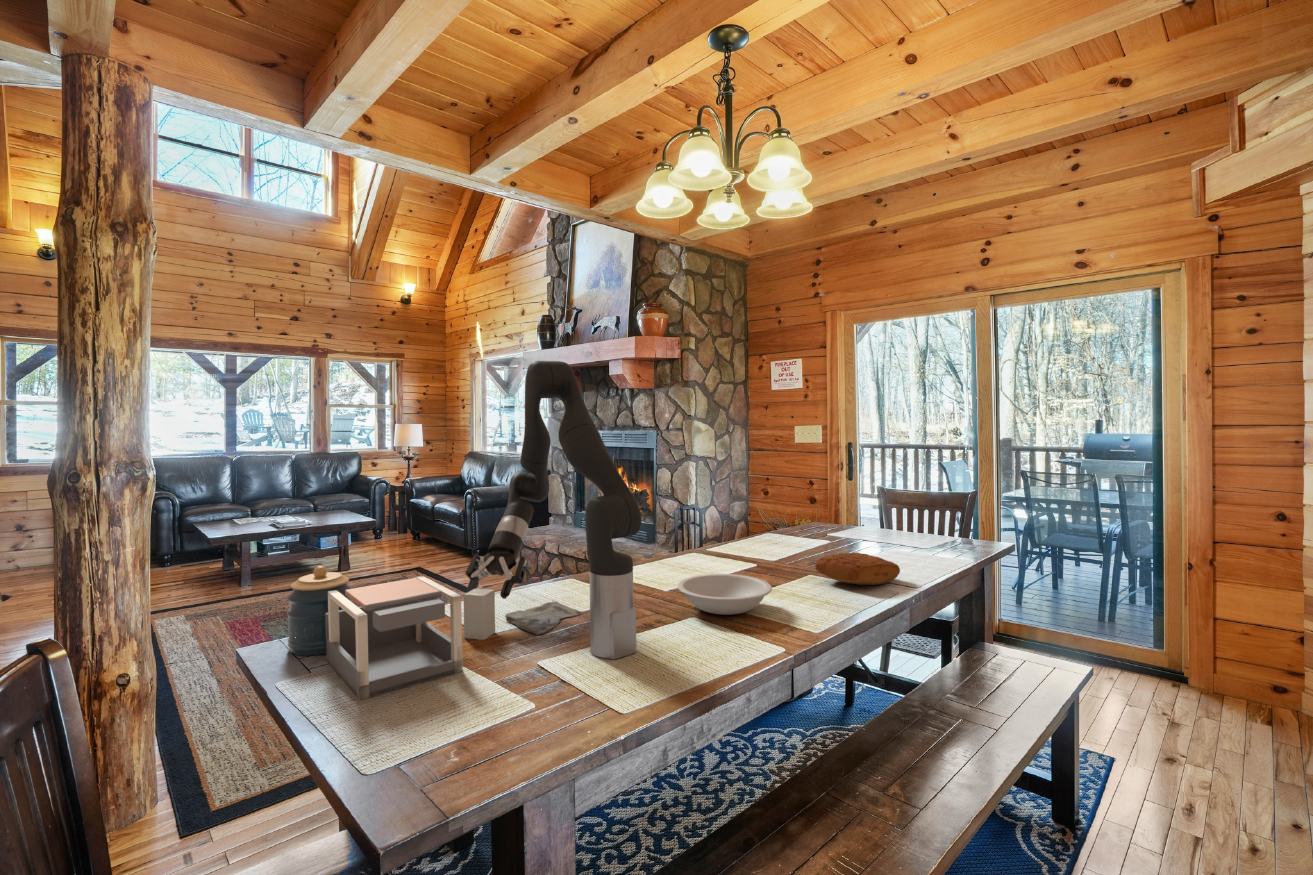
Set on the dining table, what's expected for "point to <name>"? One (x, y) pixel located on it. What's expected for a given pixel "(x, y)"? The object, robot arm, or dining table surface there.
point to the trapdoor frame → (389, 647)
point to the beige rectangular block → (479, 614)
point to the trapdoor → (399, 603)
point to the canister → (312, 610)
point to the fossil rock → (541, 617)
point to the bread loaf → (858, 568)
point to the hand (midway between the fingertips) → (486, 595)
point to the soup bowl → (724, 592)
